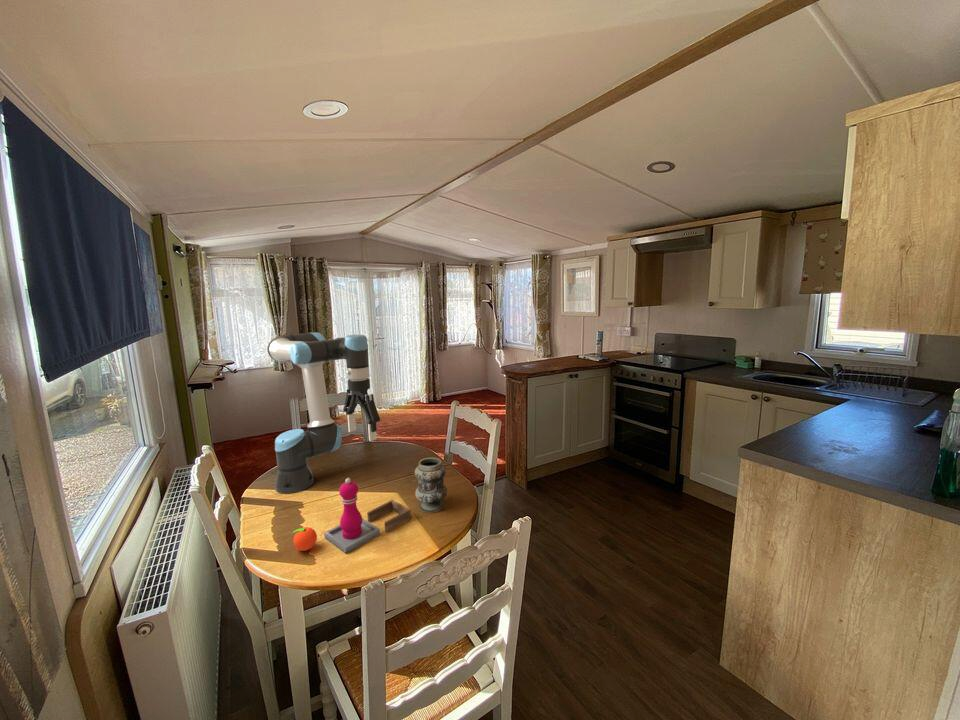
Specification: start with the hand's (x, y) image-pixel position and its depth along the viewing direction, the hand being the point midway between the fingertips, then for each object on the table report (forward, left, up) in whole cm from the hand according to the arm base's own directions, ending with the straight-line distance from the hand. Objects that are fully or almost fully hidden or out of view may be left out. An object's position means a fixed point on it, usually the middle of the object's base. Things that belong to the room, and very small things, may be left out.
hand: (362, 435), depth 145 cm
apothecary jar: (+17, +17, -30) cm, 38 cm away
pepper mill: (+10, -13, -29) cm, 33 cm away
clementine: (+3, -26, -30) cm, 40 cm away
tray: (+10, -13, -30) cm, 34 cm away
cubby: (+12, +1, -30) cm, 32 cm away
